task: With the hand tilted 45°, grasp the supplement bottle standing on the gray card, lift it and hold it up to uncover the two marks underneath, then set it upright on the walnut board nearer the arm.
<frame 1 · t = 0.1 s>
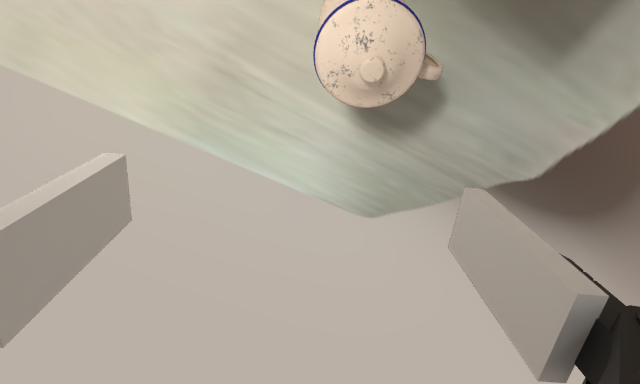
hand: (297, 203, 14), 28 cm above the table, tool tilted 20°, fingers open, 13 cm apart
teacup with lid: (375, 29, 37), on the table
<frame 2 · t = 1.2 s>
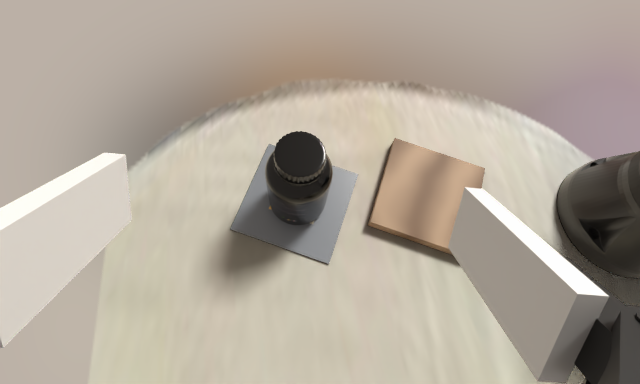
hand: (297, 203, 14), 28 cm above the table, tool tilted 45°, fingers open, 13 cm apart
supplement bottle: (297, 200, 44), resting on gray card
gray card: (297, 200, 44), on the table
walnut board: (425, 198, 46), on the table
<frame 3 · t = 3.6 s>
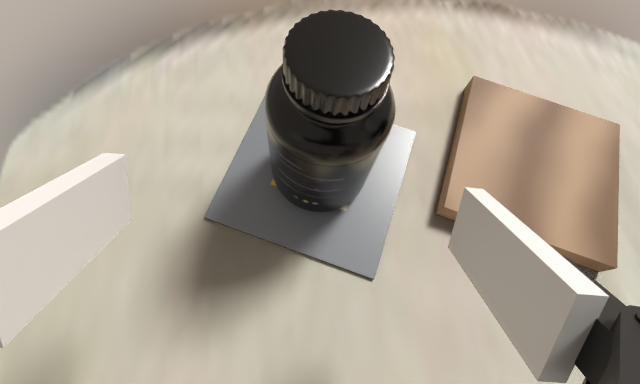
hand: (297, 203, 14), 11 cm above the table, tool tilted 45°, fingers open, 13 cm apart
supplement bottle: (317, 172, 27), resting on gray card
gray card: (317, 172, 27), on the table
walnut board: (526, 171, 28), on the table
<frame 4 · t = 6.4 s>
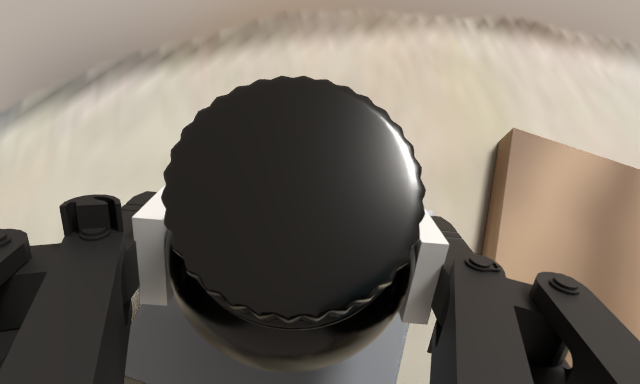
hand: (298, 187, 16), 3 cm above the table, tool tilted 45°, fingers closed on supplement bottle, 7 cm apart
supplement bottle: (290, 281, 18), resting on gray card, touching gripper
gray card: (290, 281, 18), on the table
walnut board: (593, 268, 19), on the table
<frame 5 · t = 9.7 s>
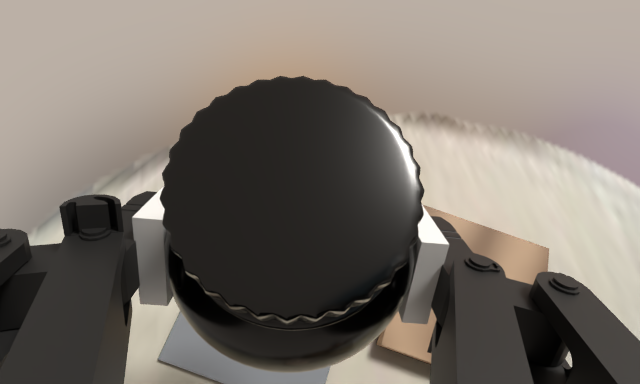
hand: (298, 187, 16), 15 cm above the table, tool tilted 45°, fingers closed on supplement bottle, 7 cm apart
supplement bottle: (289, 281, 18), point 12 cm above the table, touching gripper
gray card: (267, 305, 28), on the table
walnut board: (462, 295, 30), on the table
when the fingers open (6 cm above the table, at t = 13.0 s): supplement bottle drops 2 cm, resting on walnut board.
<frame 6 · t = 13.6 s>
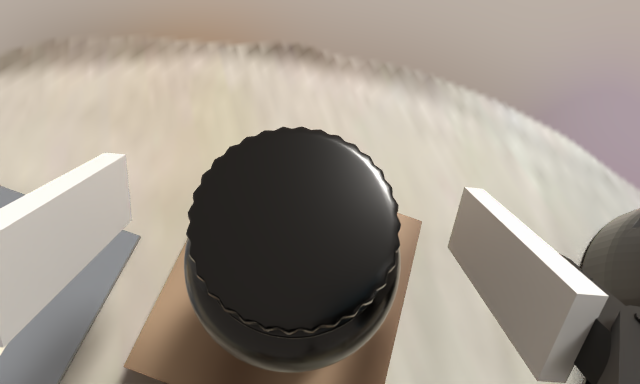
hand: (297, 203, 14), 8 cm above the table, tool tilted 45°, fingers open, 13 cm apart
supplement bottle: (292, 287, 19), point 1 cm above the table, touching walnut board
walnut board: (288, 289, 20), on the table
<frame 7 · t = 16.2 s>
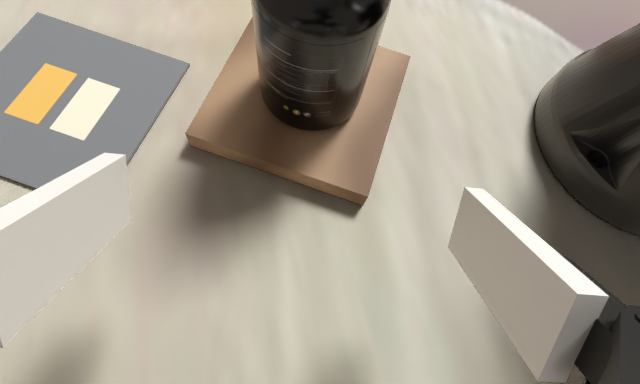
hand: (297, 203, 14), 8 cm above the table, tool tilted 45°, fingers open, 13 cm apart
supplement bottle: (309, 94, 25), point 1 cm above the table, touching walnut board
gray card: (65, 102, 24), on the table
walnut board: (306, 104, 26), on the table
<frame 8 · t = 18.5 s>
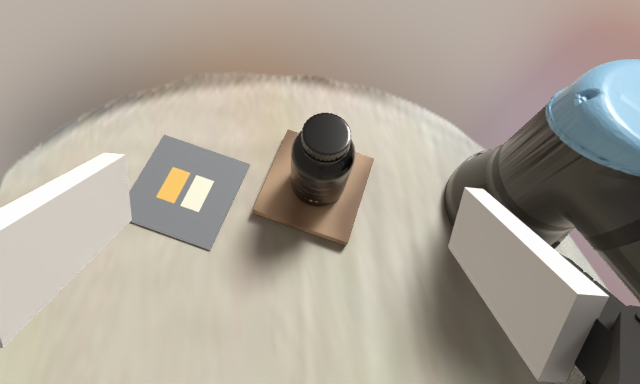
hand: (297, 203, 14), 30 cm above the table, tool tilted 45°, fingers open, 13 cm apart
supplement bottle: (317, 183, 46), point 1 cm above the table, touching walnut board
gray card: (185, 189, 45), on the table
walnut board: (315, 187, 47), on the table
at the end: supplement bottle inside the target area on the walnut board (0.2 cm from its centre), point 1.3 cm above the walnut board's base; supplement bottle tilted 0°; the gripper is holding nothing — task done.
